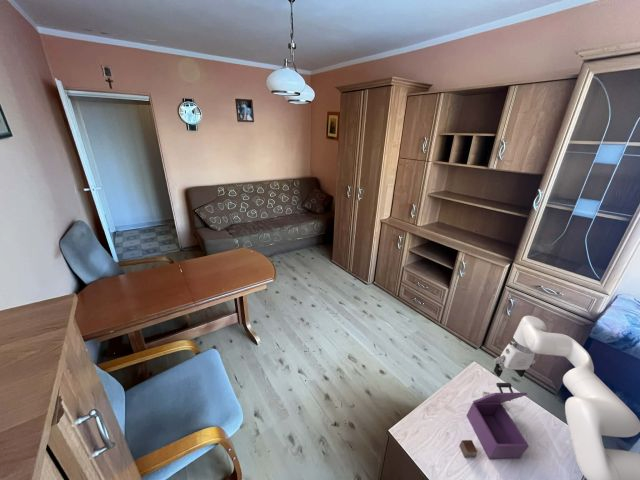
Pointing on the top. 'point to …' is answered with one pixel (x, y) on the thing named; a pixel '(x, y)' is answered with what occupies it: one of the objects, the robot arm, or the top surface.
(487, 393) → the tablet stand
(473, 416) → the file box
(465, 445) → the block
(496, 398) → the file box lid
